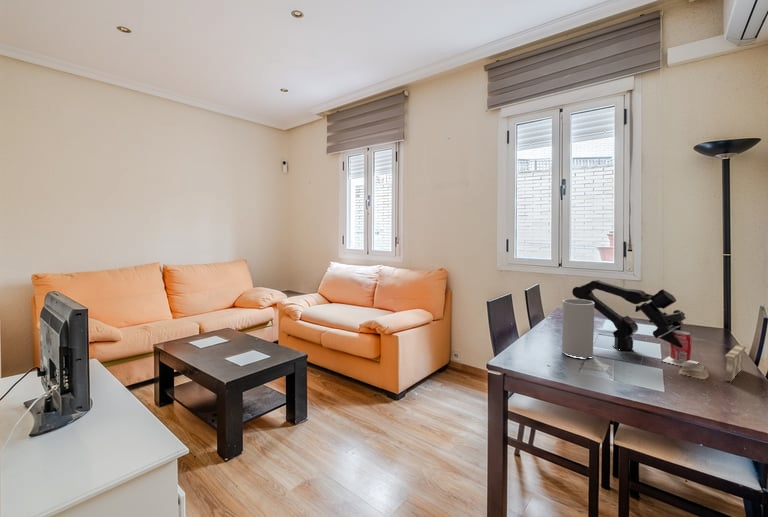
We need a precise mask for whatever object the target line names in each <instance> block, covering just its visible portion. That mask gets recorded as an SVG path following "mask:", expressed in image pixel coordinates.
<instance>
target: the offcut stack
mask: <svg viewBox="0 0 768 517" xmlns="http://www.w3.org/2000/svg"><path fill="white" fill-rule="evenodd" d="M679 373H680V374H684V375H689V376H693V377H700V378H704V379H706V378H707V377H708V378H709V369H708V368H705V365H704V364H700V363H699V364H695V363H690V362H686V361H684V362H683V363H682V367H681V368H680V369H679V370H678V374H679ZM680 374H679V375H680ZM684 375H683V376H684ZM708 378H707V379H708Z"/></svg>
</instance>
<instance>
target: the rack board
mask: <svg viewBox="0 0 768 517" xmlns="http://www.w3.org/2000/svg"><path fill="white" fill-rule="evenodd" d="M746 348H747V347H746V345H741V344H736V345H735V346H734V347H732V349H730V350H729V351H728V352H727V353H726V354H725V358H726V368H725V369H726V370H725V381H726V380H728V381H732V380H733V379H734V378H735V376H736V375H737V374H738V373H739V372H740V371H741V370H742V371H743V365H744V351H745V350H746ZM742 371H741V372H742ZM741 372H740V373H741ZM740 373H739V374H740ZM739 374H738V375H739ZM735 379H736V378H735ZM735 379H734V380H735ZM734 380H733V381H734ZM733 381H732V382H733Z"/></svg>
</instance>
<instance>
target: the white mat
mask: <svg viewBox="0 0 768 517" xmlns="http://www.w3.org/2000/svg"><path fill="white" fill-rule="evenodd" d="M661 361H663V362H662V363H664V362H666V363H665V364H668V363H670V364H669V365H672V364H674V365H673V366H676V365H678V366H677V367H680V366H682V363H683V362H680V361H676V360H673V359H672V358H671V357H670V356H669V355H668V356H667V357H665V358H663V359H662V360H661ZM687 362H690V363H695V364H698V363H699V364H700V362H698V361H695V360H691V359H690V360H689V361H687Z"/></svg>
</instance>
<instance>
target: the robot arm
mask: <svg viewBox="0 0 768 517" xmlns="http://www.w3.org/2000/svg"><path fill="white" fill-rule="evenodd" d="M594 290H599V291H601V292H603V293H608V294H612V295H614V296H617V297H620V298H622V299H623V300H625V301H627V302H629V303H630V304H633V305H636V306H635V313H638V312H640V311H641V312H642V313H643V314H644V315H645V316H646V318H648V319H649V320H648V322H649V323H650V324H653V325H654V326H655V327H656V330H653V331H652V335H653V337H654V338H655V339H658V338H659V340H662V341H665V342H667V343H669V344H670V343H671V344H673V345H675V346H677V347H679V348H682V347H683V346H682V345H681V343H680V342H679V341H678V339H677V338H676V337H675V335H674V330H680V331H683V330H682V329H683V324H684V322H683V321H685V320H686V316H685V315H686V314H685V312H683V311H681V310H680V309H676V310H673V313H669V314H668V313H666V312H665V311H664V312H662V310H664V309H667V308H668V307H669V306H671V305H672V304H675V303H676V302H677V299H676V297H675V296H674V295H673V294H672V293H670V292H668V291H666V290H665V289H660V290H659V291H658V292H657V293H655V294H650V293H646V292H645V291H644V290H641V289H634V288H625V287H620V286H618V285H614V284H612V283H611V284H610V283H608V282H604V281H602V280H600V279H594V280H592V281H589V282H588V283H585V284H583V285H578V286H575V287H573V288H572V296H574V298H575V299H584V300H589V301H593V302H594V310H596V311H598V313H601V314H602V315H603V316H604V317H605V318H607V319H608V320H609V321H610V322H612V324H613V326H614V327H615V328H616V330H614V331H613V332H612V335H613V338H614V343H613V345H614V346H615V347H616V348H617V349H618V350H617V349H616V348H615V349H616V350H617V351H619V349H620V350H630V351H629V352H634V351H635V350H634V340H633V337H632V336H633V335H634V334H635V333H637V332H638V330H639V327H638V324H637V323H636V322H637V321H636V320H633V319H632V318H631V317H630V316H629V315H626V316H622V315H620V314H619V313H617V312H616V311H615V310H613V308H611V307H610V306H608V305H607V304H605V303H604V302H603V301H602V300H600V299H599V298H598V297H596V296H595V294H594V292H593V291H594ZM660 309H662V310H660Z"/></svg>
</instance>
